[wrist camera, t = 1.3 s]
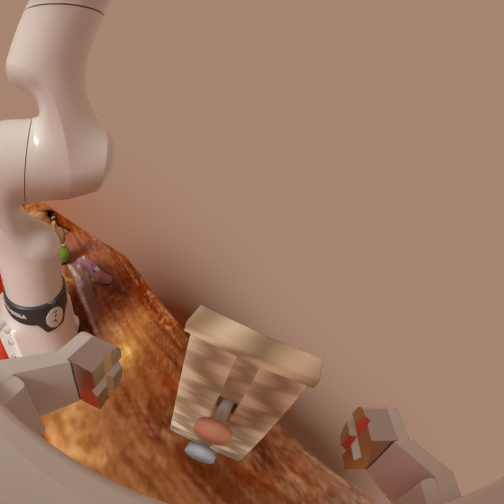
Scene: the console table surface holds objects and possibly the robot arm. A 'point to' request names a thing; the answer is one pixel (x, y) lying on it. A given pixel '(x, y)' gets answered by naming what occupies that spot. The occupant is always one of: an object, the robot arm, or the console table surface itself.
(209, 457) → the lower key
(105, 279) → the video game controller
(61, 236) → the snail figurine
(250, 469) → the console table surface
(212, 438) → the reddish round knob
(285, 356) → the beige tall block
